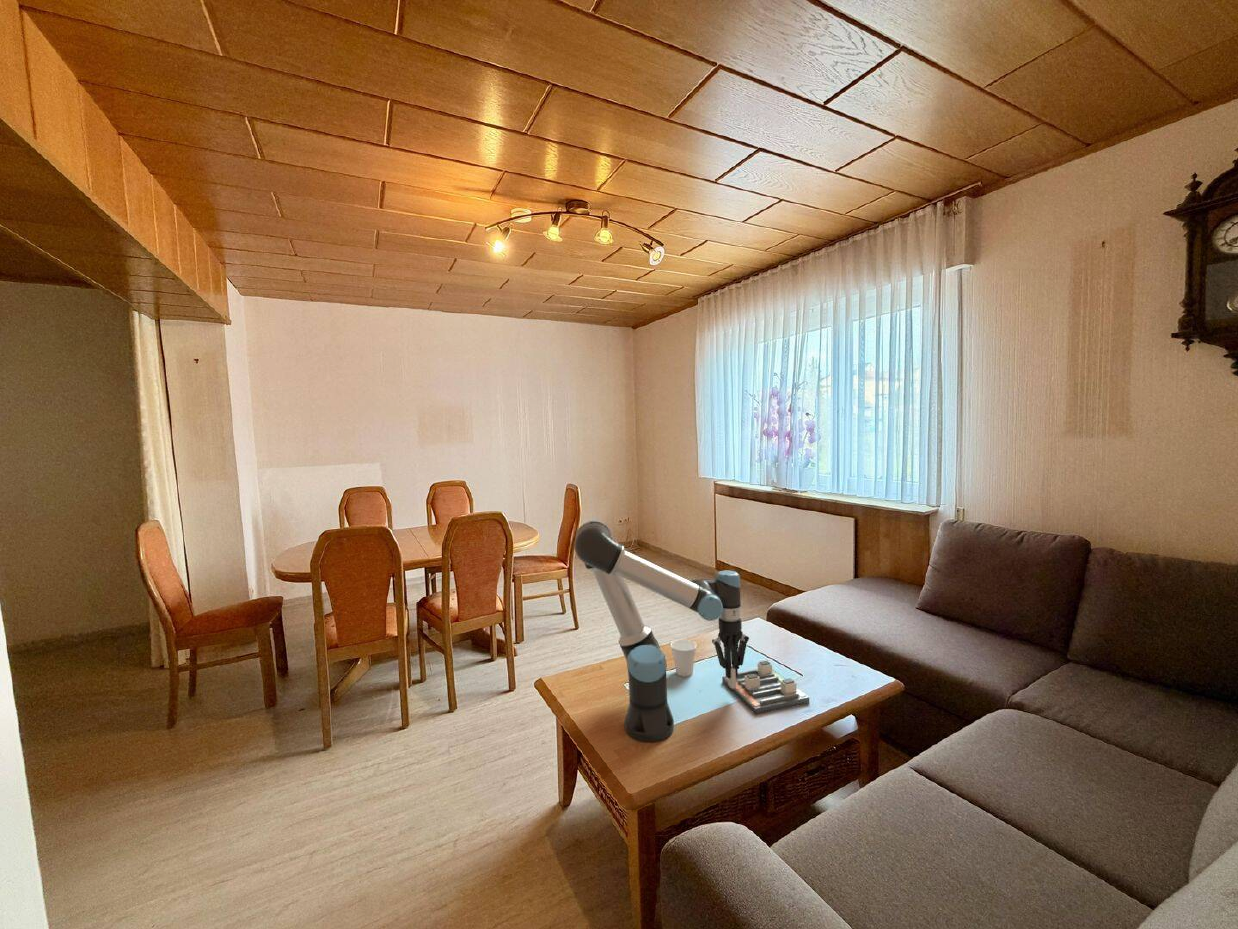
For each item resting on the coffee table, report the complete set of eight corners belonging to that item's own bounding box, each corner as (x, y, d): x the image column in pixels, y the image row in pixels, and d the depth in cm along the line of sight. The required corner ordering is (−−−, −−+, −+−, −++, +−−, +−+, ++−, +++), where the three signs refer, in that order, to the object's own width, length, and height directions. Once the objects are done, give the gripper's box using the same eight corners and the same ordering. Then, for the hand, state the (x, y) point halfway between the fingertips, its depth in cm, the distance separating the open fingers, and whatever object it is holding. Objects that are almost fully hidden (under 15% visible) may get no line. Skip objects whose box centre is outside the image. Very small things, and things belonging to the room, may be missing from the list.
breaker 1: (749, 691, 164) (749, 678, 164) (744, 687, 167) (744, 674, 167) (760, 689, 165) (759, 676, 165) (755, 685, 168) (754, 672, 168)
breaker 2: (762, 677, 173) (762, 665, 173) (757, 673, 176) (757, 661, 176) (772, 675, 174) (772, 663, 174) (767, 671, 177) (767, 659, 177)
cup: (697, 680, 177) (696, 651, 177) (670, 679, 179) (669, 649, 179) (698, 668, 187) (697, 640, 186) (672, 666, 189) (671, 638, 188)
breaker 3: (786, 696, 160) (785, 683, 160) (780, 692, 163) (780, 679, 163) (796, 694, 161) (796, 681, 161) (791, 690, 164) (790, 677, 164)
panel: (755, 714, 154) (755, 705, 154) (722, 682, 175) (722, 673, 175) (809, 703, 159) (809, 693, 159) (770, 673, 181) (770, 664, 180)
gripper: (717, 624, 157) (719, 695, 158) (753, 618, 161) (755, 688, 162) (707, 616, 164) (709, 684, 166) (741, 611, 168) (743, 678, 169)
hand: (732, 686), depth 164 cm, fingers closed
